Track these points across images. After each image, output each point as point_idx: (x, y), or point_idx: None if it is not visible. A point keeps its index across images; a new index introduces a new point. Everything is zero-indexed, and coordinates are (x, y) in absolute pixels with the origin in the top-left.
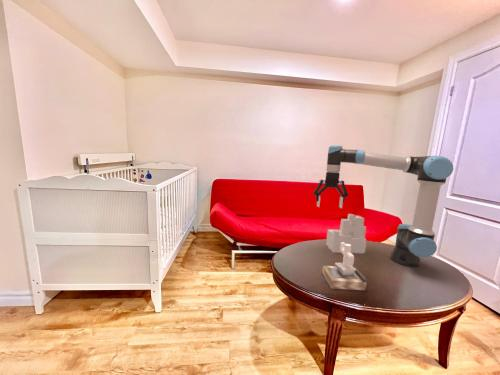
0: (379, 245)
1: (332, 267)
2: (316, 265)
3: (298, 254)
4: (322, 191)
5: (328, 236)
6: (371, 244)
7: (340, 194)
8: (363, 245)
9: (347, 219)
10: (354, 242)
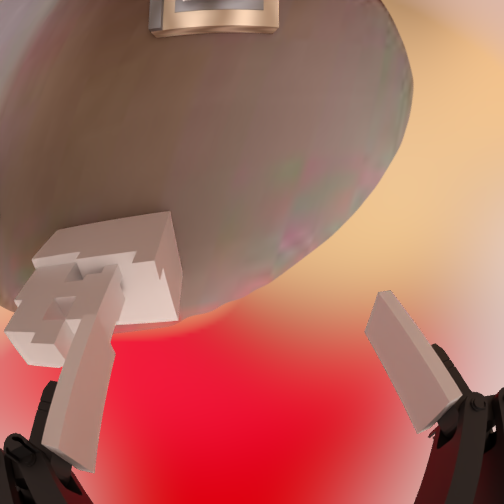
0: None
1: (241, 16)
2: (277, 82)
3: (323, 168)
4: (458, 481)
5: (176, 288)
6: None
7: (91, 501)
8: (50, 243)
9: None
10: (76, 244)
